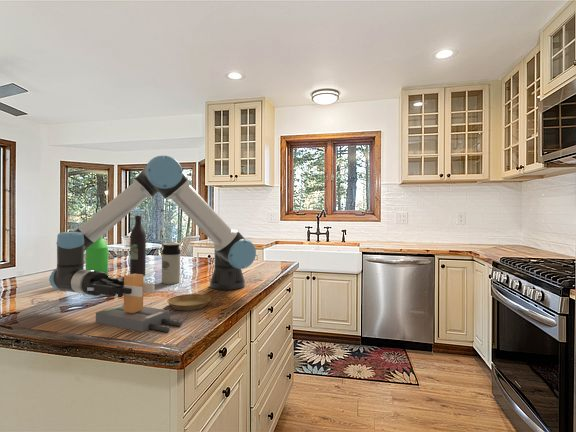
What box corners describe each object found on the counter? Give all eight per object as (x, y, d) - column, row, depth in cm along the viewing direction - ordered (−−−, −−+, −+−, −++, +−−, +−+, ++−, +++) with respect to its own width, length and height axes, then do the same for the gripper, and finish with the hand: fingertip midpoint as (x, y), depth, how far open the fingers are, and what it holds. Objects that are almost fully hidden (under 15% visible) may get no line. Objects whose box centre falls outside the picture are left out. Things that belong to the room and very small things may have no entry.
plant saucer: (193, 315, 111) (193, 307, 111) (157, 309, 117) (157, 301, 117) (219, 304, 125) (219, 296, 125) (186, 299, 131) (186, 292, 131)
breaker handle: (123, 311, 102) (124, 275, 102) (134, 308, 106) (134, 273, 106) (132, 313, 101) (132, 276, 100) (143, 309, 104) (143, 274, 104)
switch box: (95, 322, 102) (95, 312, 102) (125, 312, 112) (126, 303, 112) (161, 335, 92) (161, 324, 92) (187, 323, 102) (188, 313, 102)
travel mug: (172, 279, 163) (173, 242, 163) (183, 282, 159) (183, 243, 158) (157, 282, 157) (158, 243, 157) (168, 285, 152) (169, 244, 152)
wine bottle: (130, 275, 173) (130, 215, 172) (145, 274, 176) (145, 215, 175) (129, 277, 166) (130, 215, 166) (145, 276, 169) (146, 215, 169)
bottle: (100, 284, 152) (101, 227, 151) (81, 283, 152) (81, 227, 151) (111, 280, 161) (111, 226, 160) (92, 279, 161) (93, 226, 160)
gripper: (113, 288, 118) (167, 296, 109) (65, 300, 102) (123, 310, 93) (114, 266, 118) (168, 272, 109) (65, 275, 102) (123, 283, 93)
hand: (147, 290), depth 101 cm, fingers closed on breaker handle, 4 cm apart
